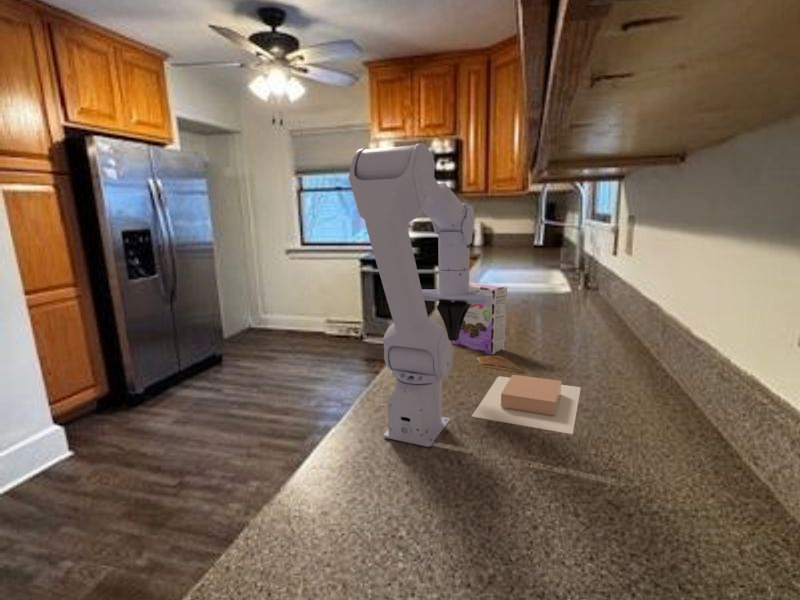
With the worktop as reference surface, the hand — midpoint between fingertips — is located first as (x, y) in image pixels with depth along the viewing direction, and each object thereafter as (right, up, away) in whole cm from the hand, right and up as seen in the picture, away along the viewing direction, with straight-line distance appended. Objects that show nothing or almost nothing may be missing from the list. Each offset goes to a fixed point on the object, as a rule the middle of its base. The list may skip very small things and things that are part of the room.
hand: (453, 339), depth 86 cm
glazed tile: (+9, -9, -3) cm, 13 cm away
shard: (+13, -8, +15) cm, 21 cm away
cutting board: (+13, -11, -5) cm, 18 cm away
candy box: (+10, -5, +29) cm, 31 cm away
